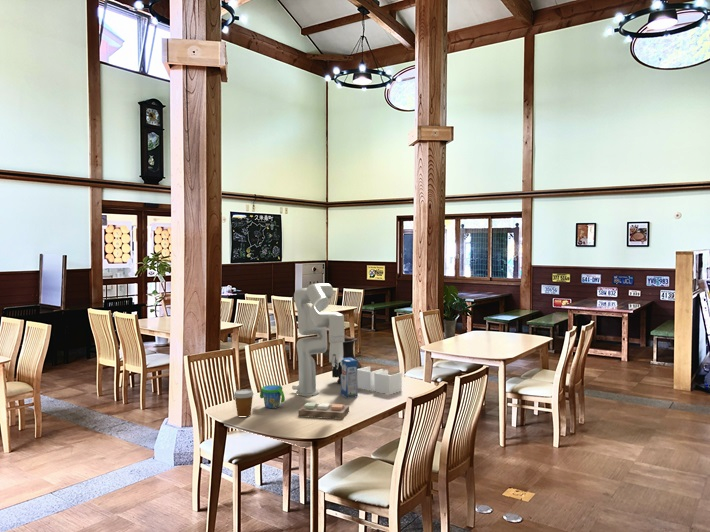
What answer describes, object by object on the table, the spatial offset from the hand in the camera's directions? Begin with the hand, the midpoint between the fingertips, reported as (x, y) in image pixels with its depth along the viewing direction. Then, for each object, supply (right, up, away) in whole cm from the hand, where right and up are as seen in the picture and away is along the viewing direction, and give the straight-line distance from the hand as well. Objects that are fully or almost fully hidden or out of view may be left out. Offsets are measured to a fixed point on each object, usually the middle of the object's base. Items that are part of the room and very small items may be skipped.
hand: (337, 375), depth 266 cm
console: (-7, -19, +2) cm, 21 cm away
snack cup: (-34, -20, +16) cm, 42 cm away
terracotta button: (0, -18, +1) cm, 18 cm away
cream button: (-7, -18, +2) cm, 19 cm away
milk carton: (+5, -19, +36) cm, 41 cm away
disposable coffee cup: (-46, -20, +1) cm, 50 cm away
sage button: (-13, -18, +4) cm, 23 cm away
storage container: (+23, -18, +48) cm, 56 cm away
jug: (+3, -18, +67) cm, 69 cm away
